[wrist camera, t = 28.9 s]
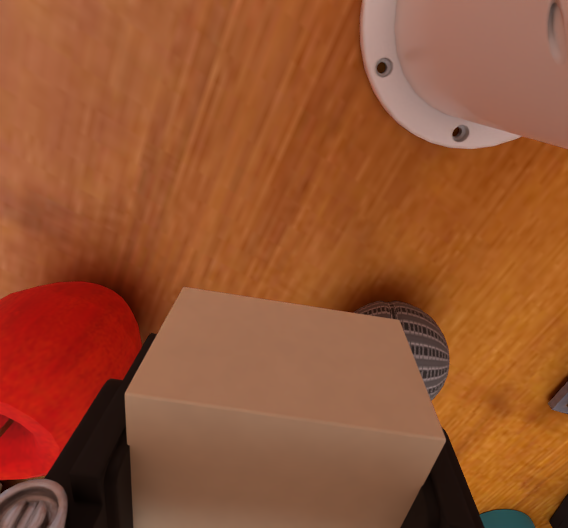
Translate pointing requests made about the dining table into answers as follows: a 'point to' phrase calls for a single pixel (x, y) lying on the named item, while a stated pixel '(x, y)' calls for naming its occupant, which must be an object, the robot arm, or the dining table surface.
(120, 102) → the dining table surface
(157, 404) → the cream block
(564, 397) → the book
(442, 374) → the lollipop
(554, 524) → the black divided tray
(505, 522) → the teal cylinder
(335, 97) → the dining table surface
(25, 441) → the apple
